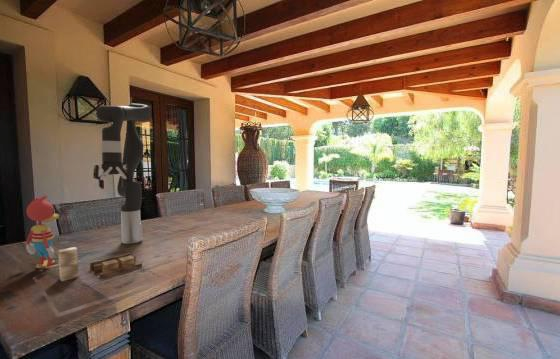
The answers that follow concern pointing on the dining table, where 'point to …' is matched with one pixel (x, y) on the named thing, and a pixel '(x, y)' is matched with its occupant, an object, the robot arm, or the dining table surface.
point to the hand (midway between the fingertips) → (113, 187)
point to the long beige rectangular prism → (68, 263)
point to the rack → (97, 270)
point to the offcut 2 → (126, 261)
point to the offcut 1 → (109, 265)
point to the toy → (41, 231)
